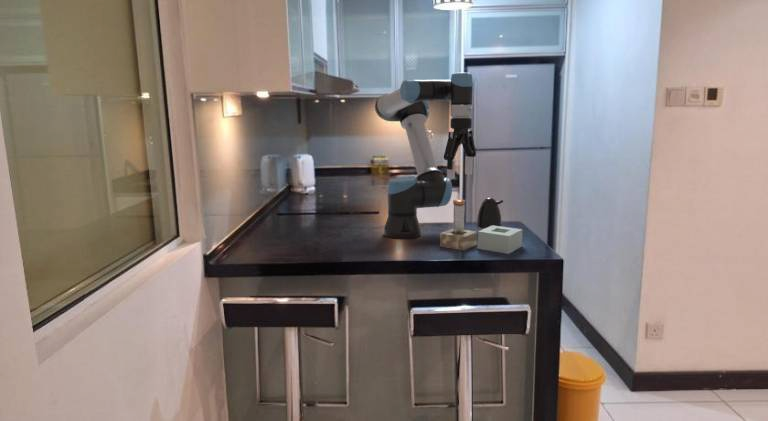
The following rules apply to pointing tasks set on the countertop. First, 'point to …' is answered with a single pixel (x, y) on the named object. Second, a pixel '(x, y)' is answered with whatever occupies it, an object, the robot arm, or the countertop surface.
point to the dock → (500, 239)
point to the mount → (458, 239)
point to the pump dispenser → (489, 214)
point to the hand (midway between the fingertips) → (460, 176)
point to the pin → (459, 216)
